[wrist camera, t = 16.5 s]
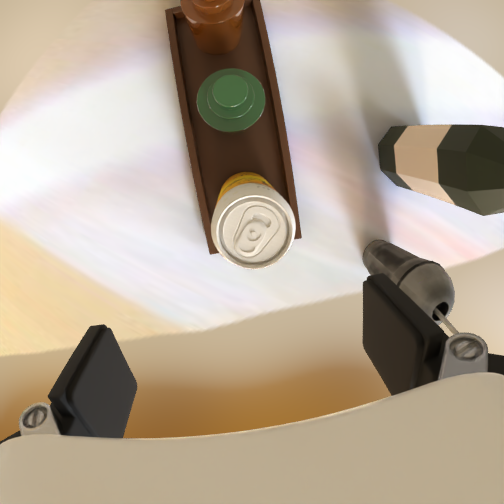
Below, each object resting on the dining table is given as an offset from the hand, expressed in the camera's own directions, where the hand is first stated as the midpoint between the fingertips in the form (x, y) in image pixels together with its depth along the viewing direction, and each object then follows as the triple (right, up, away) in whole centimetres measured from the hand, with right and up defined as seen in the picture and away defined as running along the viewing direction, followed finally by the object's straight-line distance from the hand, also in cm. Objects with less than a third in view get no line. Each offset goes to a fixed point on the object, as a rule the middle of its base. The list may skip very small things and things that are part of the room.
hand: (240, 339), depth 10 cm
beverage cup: (+17, +3, +29) cm, 34 cm away
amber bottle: (-3, +28, +18) cm, 33 cm away
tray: (-2, +18, +22) cm, 29 cm away
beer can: (0, +9, +25) cm, 27 cm away
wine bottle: (+20, +16, +25) cm, 35 cm away
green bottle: (-2, +19, +21) cm, 28 cm away
